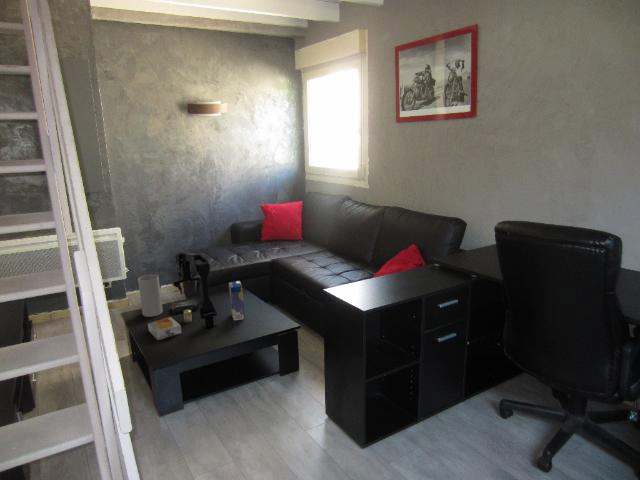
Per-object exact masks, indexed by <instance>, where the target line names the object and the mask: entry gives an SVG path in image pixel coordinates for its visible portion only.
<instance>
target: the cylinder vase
mask: <svg viewBox="0 0 640 480" xmlns="http://www.w3.org/2000/svg"><path fill="white" fill-rule="evenodd" d="M137 281H138V288H139V289H138V290H139V297H140V303H141V311H142V316H143V317H146V318H153V317H157V316H160V315H161V314H162V313H163V312H164V311H163V310H164V309H163V303H162V296H161V295H162V294H161V287H160V286H161V285H160V278H159V275H157V274H145V275H142V276H139V277H138V278H137Z"/></svg>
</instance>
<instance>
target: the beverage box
mask: <svg viewBox="0 0 640 480" xmlns="http://www.w3.org/2000/svg"><path fill="white" fill-rule="evenodd" d="M228 288H229V289H228V290H229V291H228V293H229V301H230V302H229V303H230V312H231V313H230V314H231V315H230V316H231V317H232V321H239V320H240V321H241V320H245V308H244V307H245V306H244V295H243V293H244V292H243V285H242V283H241V281H240V280H236V281H229V282H228Z"/></svg>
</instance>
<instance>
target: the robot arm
mask: <svg viewBox="0 0 640 480" xmlns="http://www.w3.org/2000/svg"><path fill="white" fill-rule="evenodd" d="M191 261H192V262H193V264H192V262H191ZM197 261H200V263H196V262H197ZM174 264H175V267H177V268H179V269H181V272H177V279H174V280H172V281H171V285H172V286H173V287H175V288H177V289H178V291H179V292H180V295H181V296H182V295H183V289H182V285H181V284H185V283H190V282H194V290H195V292H196V293H197V291H198V289H199V291H200V290H201V300H200V301H199V302H198V304H199V305H198V312H199V316H200V318H201V320H203V323H204V324H202V326H203V328H205V329H206V330H208V329H211V328H214V327H217V324H216V323H215V319H214V317H216V316H217V315H218V313H217V311H216V309H215V306H214V304H213V302H212V300H211V299H210V290H209V289H210V288H209V279H208V277H209V275H210V273H211V271H210V269H211V265H210V264H209V261H208V260H207V259H206V258H205V257H203V255H202V254H201V253H193V252H191V250H184V251H179V252H178V254H177V258H176V261H175V263H174ZM191 265H192V267H193V270H194V272H195V274H196V275H195V276H194V277H192V276H193V275H192V268H191ZM179 278H180V279H181V280H180V279H179ZM199 284H200V286H199Z"/></svg>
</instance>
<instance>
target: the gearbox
mask: <svg viewBox="0 0 640 480" xmlns="http://www.w3.org/2000/svg"><path fill="white" fill-rule="evenodd" d="M147 327H148V332H149V333H150V334H151V335H152V336H153V337H154V338H155V339H156V340H157V341H159V340H163V339H167V338H172V337H174V336H177V335H180V334H182V326H181V324H180V323H179V322H177V321H176V320H175V319H174V318H173V317H172V316H169V317H164V318H160V319H157V320H155V321H152V322H148V323H147Z"/></svg>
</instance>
